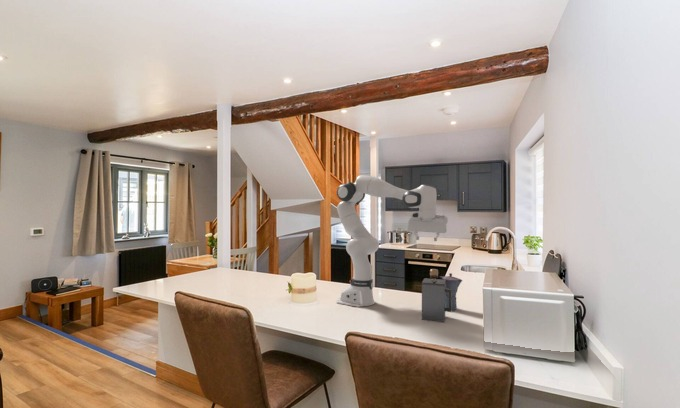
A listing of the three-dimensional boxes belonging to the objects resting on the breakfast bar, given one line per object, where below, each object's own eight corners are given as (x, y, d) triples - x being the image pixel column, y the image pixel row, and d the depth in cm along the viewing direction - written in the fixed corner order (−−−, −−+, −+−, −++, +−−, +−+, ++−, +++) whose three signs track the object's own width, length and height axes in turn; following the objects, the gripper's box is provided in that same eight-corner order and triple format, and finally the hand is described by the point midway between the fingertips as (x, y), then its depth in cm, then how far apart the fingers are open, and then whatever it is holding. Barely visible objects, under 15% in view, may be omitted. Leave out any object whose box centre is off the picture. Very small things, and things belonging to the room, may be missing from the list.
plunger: (425, 315, 179) (425, 270, 179) (426, 311, 186) (427, 267, 186) (440, 317, 176) (441, 271, 176) (441, 313, 184) (442, 268, 184)
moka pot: (463, 312, 192) (463, 275, 192) (434, 310, 195) (434, 274, 195) (460, 307, 201) (461, 272, 201) (433, 305, 204) (433, 271, 204)
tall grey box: (421, 320, 178) (421, 282, 178) (423, 313, 188) (424, 278, 188) (450, 323, 173) (451, 284, 173) (451, 316, 183) (451, 280, 184)
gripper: (448, 215, 188) (447, 241, 189) (409, 213, 196) (408, 238, 196) (447, 215, 183) (446, 242, 183) (407, 214, 190) (406, 239, 190)
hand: (426, 240), depth 189 cm, fingers open, 8 cm apart
